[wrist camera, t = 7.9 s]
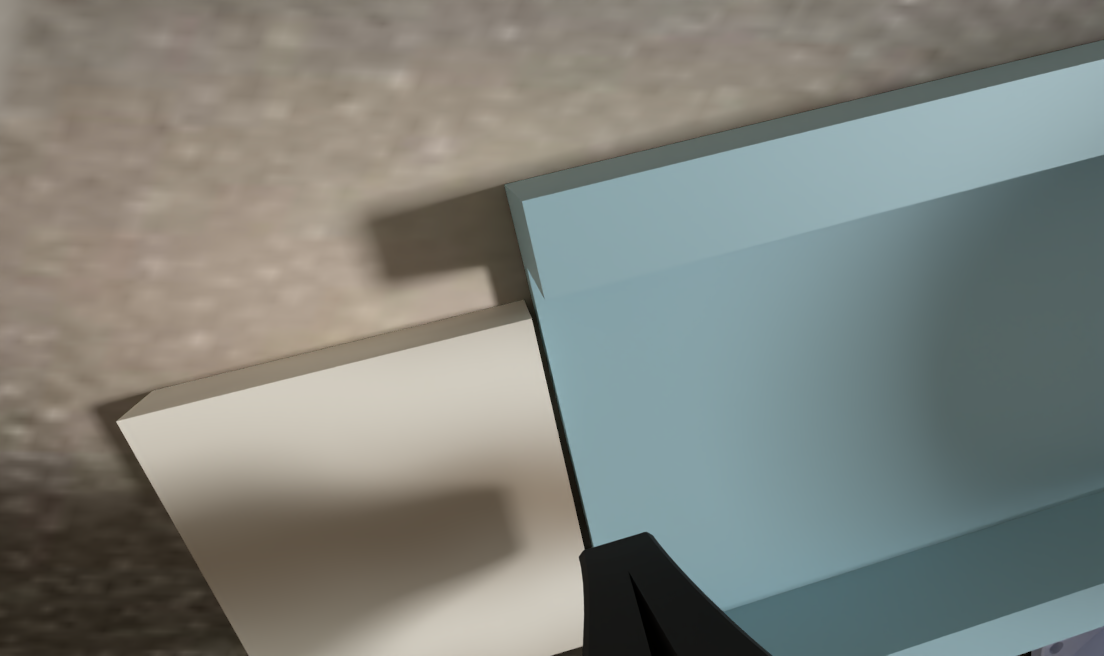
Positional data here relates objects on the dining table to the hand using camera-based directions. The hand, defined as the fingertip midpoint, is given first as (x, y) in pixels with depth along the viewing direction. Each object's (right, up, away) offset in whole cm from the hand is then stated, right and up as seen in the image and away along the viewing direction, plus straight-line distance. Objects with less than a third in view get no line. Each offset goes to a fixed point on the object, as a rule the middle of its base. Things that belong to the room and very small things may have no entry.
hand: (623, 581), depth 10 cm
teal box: (+9, +4, +4) cm, 11 cm away
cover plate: (-5, 0, +4) cm, 6 cm away
